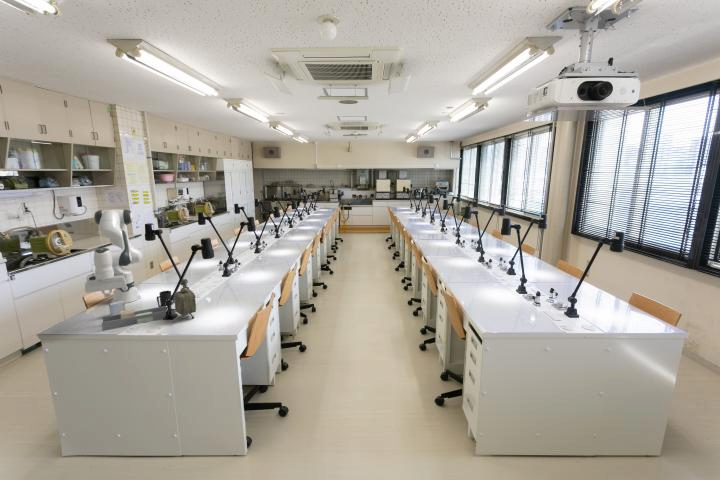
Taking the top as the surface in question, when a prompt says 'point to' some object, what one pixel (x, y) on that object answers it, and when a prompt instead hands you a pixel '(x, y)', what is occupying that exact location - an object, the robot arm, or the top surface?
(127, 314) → the maple block
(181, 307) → the olive backpack
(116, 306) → the medicine box
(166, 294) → the black mug
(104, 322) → the trap lane
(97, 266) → the robot arm
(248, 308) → the top surface
